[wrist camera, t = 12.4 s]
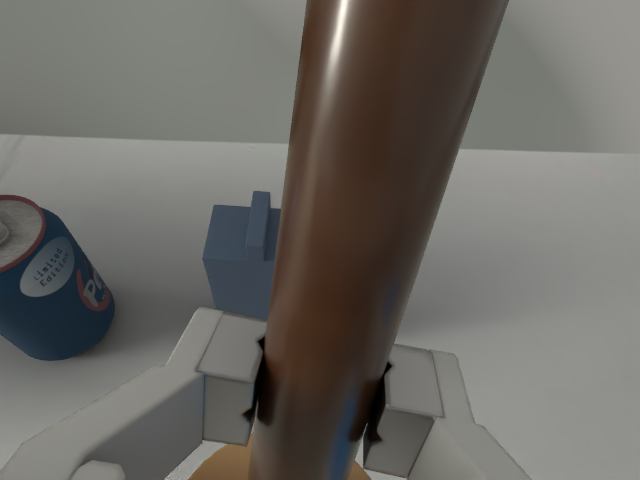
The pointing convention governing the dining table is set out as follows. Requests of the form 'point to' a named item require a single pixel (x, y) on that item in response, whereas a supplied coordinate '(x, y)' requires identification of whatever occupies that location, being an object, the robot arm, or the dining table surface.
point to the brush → (356, 219)
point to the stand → (242, 255)
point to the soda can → (47, 285)
